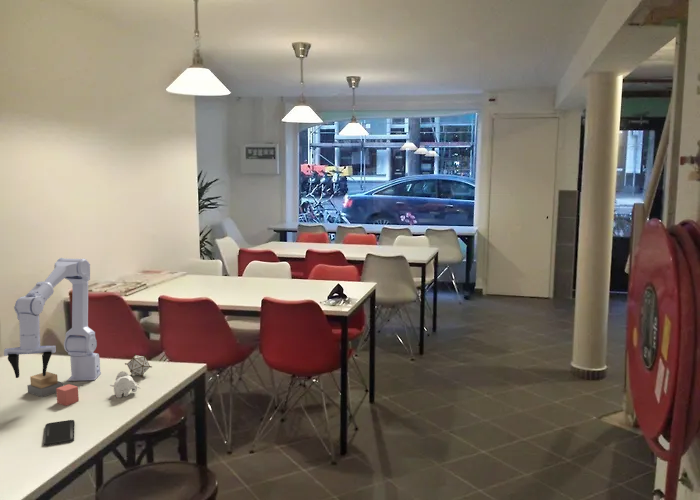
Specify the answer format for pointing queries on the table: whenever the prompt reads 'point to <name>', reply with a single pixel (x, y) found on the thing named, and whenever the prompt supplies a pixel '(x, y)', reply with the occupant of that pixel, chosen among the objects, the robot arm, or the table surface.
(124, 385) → the elephant figurine
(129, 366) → the grey geodesic polyhedron
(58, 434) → the phone
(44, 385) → the oak tile
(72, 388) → the red block
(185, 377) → the table surface
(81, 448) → the table surface
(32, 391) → the charcoal base tile
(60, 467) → the table surface
